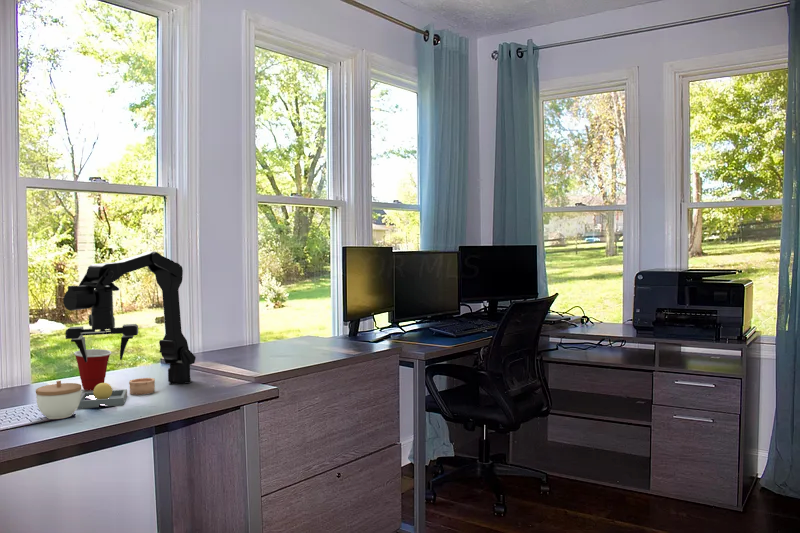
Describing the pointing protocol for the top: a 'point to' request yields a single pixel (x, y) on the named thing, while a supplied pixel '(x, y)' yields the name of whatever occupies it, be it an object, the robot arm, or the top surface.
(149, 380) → the bowl
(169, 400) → the top surface
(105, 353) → the plastic cup
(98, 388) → the ball
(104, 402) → the tray
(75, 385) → the lidded jar
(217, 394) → the top surface
